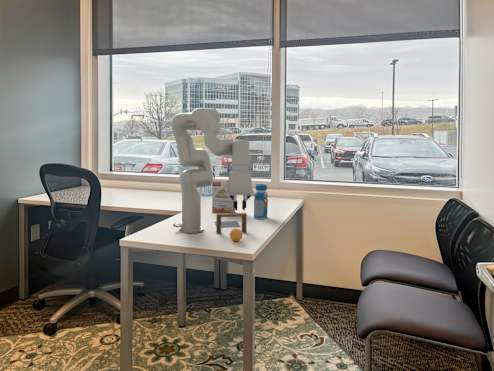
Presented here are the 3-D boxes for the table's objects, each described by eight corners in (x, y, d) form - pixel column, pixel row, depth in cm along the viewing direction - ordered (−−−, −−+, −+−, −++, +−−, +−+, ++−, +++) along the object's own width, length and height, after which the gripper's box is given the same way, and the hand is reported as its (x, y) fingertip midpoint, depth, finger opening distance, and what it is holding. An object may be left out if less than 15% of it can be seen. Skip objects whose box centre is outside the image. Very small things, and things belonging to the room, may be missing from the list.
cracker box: (211, 212, 244) (212, 179, 241) (214, 210, 250) (214, 178, 247) (233, 213, 242) (234, 180, 239) (235, 211, 248) (235, 179, 245)
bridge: (217, 233, 195) (217, 214, 194) (216, 232, 198) (216, 213, 197) (246, 232, 198) (246, 214, 197) (245, 231, 201) (245, 212, 200)
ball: (230, 243, 179) (230, 230, 178) (228, 239, 185) (229, 227, 184) (243, 242, 180) (243, 230, 179) (241, 239, 186) (241, 226, 185)
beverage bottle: (255, 219, 227) (255, 185, 225) (252, 216, 236) (252, 183, 233) (269, 219, 229) (270, 185, 226) (265, 216, 237) (266, 183, 234)
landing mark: (216, 227, 207) (216, 227, 207) (214, 221, 220) (214, 221, 220) (240, 226, 210) (240, 226, 209) (236, 221, 222) (236, 221, 222)
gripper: (256, 167, 173) (256, 207, 176) (220, 167, 171) (220, 208, 173) (260, 169, 166) (259, 211, 169) (222, 169, 163) (222, 211, 166)
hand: (239, 209), depth 171 cm, fingers open, 2 cm apart
